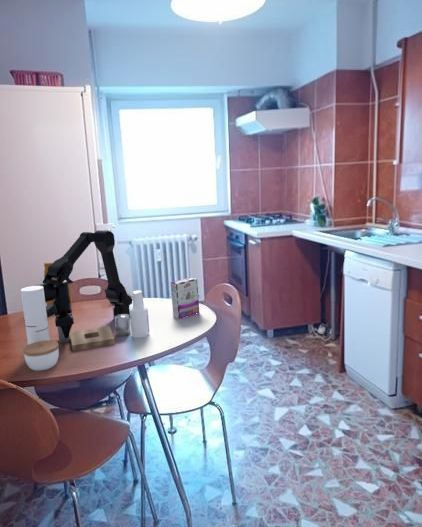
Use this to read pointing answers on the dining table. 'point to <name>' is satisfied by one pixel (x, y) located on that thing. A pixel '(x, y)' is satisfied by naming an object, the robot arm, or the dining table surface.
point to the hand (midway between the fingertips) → (66, 336)
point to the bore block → (92, 338)
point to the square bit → (62, 336)
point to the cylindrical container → (35, 314)
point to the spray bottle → (139, 316)
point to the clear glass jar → (122, 325)
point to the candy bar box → (185, 297)
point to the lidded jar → (41, 354)
